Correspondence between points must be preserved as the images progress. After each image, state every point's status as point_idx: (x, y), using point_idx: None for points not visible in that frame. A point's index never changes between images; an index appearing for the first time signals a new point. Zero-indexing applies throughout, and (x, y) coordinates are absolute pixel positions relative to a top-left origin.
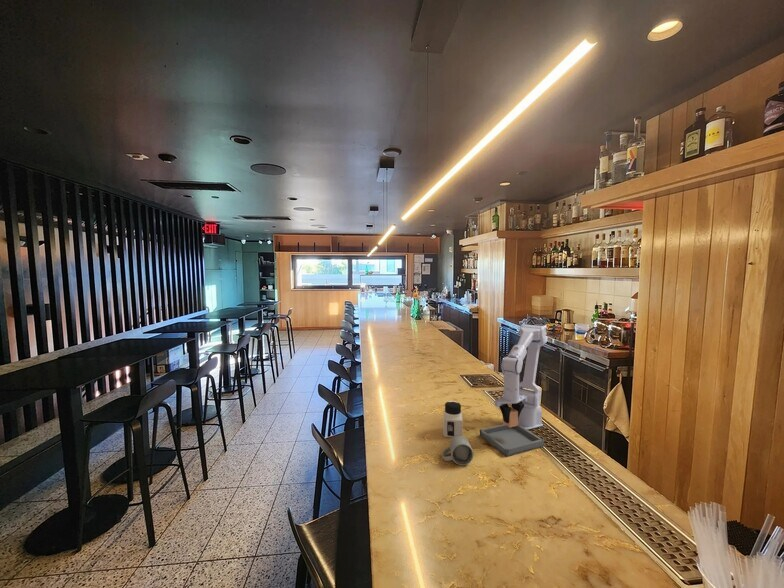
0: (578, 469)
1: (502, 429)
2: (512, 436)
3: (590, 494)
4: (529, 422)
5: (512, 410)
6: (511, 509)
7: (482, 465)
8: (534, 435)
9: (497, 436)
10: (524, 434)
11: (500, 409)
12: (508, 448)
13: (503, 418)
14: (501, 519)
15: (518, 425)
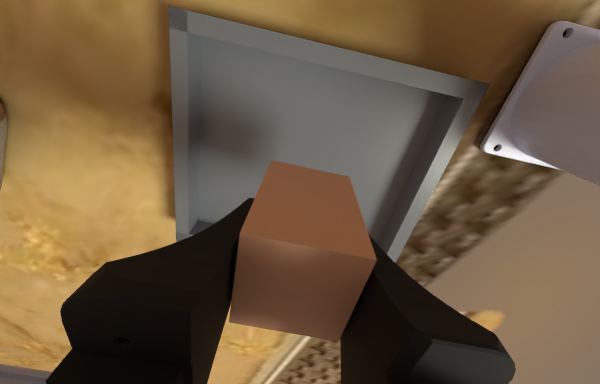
0: (332, 348)
1: (357, 73)
2: (337, 155)
3: (262, 379)
4: (542, 157)
5: (301, 312)
6: (62, 329)
7: (66, 206)
8: (395, 243)
9: (268, 106)
10: (406, 178)
11: (174, 246)
12: None
13: (240, 206)
14: (25, 331)
15: (450, 137)
